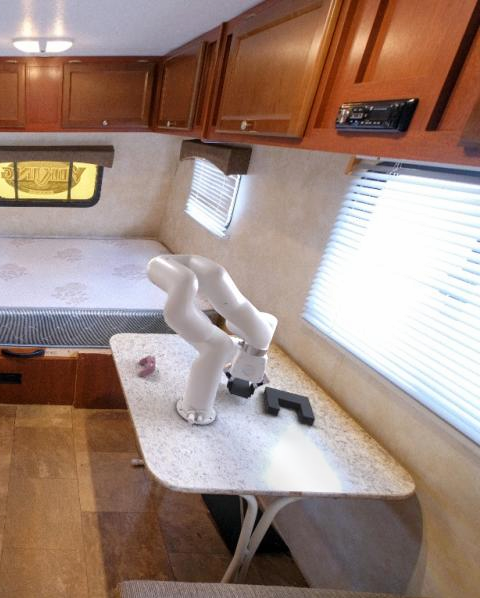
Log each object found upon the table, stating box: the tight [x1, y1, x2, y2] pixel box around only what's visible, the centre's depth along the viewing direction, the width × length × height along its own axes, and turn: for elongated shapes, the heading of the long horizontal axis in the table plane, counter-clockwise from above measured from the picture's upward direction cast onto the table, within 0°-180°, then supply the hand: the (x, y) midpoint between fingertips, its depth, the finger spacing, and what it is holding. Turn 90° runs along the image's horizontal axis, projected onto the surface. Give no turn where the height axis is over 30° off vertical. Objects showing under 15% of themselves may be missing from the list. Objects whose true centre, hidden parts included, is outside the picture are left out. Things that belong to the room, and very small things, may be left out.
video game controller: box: [138, 354, 157, 377], centre depth 140 cm, size 10×5×7 cm, turn 171°
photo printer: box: [225, 336, 243, 365], centre depth 147 cm, size 10×4×12 cm, turn 47°
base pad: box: [263, 386, 316, 427], centre depth 126 cm, size 12×14×3 cm
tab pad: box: [229, 378, 250, 400], centre depth 129 cm, size 10×6×3 cm, turn 159°
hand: (238, 391), depth 127 cm, fingers closed on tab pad, 6 cm apart
